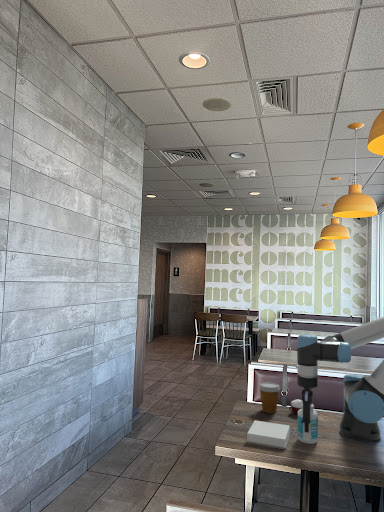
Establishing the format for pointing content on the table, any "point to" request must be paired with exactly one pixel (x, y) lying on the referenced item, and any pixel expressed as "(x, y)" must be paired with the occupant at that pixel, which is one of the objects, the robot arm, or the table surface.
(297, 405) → the cocoa
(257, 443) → the block
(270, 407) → the disposable coffee cup
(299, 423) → the pill bottle
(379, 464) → the table surface
